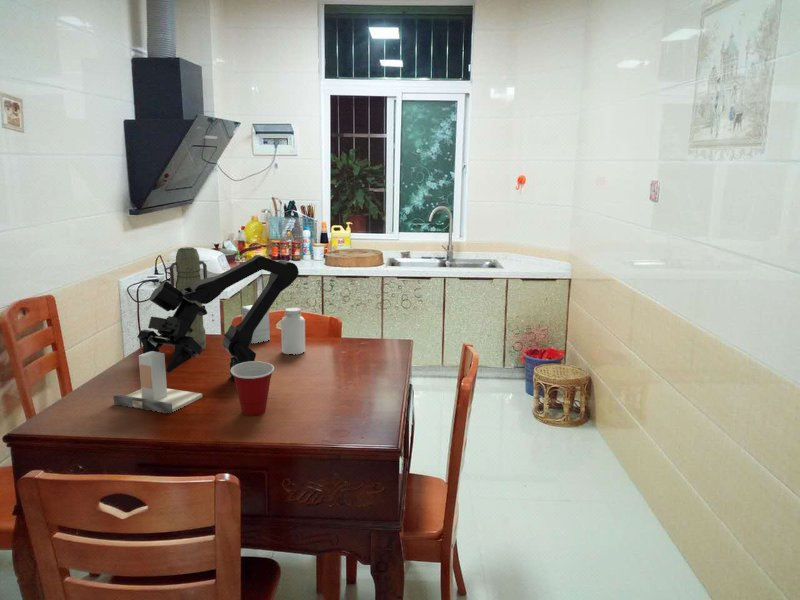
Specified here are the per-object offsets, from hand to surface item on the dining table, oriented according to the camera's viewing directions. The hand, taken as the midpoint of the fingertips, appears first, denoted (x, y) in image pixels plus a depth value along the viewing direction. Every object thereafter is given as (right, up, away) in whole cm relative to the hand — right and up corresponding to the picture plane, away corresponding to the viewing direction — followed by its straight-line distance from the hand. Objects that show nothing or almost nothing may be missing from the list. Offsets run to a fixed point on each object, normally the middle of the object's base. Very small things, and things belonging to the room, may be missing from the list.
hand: (154, 369), depth 167 cm
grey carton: (0, -8, +1) cm, 8 cm away
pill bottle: (+29, +1, +48) cm, 56 cm away
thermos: (-6, +1, +50) cm, 51 cm away
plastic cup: (+28, -10, -6) cm, 30 cm away
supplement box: (+13, +4, +62) cm, 64 cm away
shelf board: (+1, -8, +2) cm, 9 cm away
